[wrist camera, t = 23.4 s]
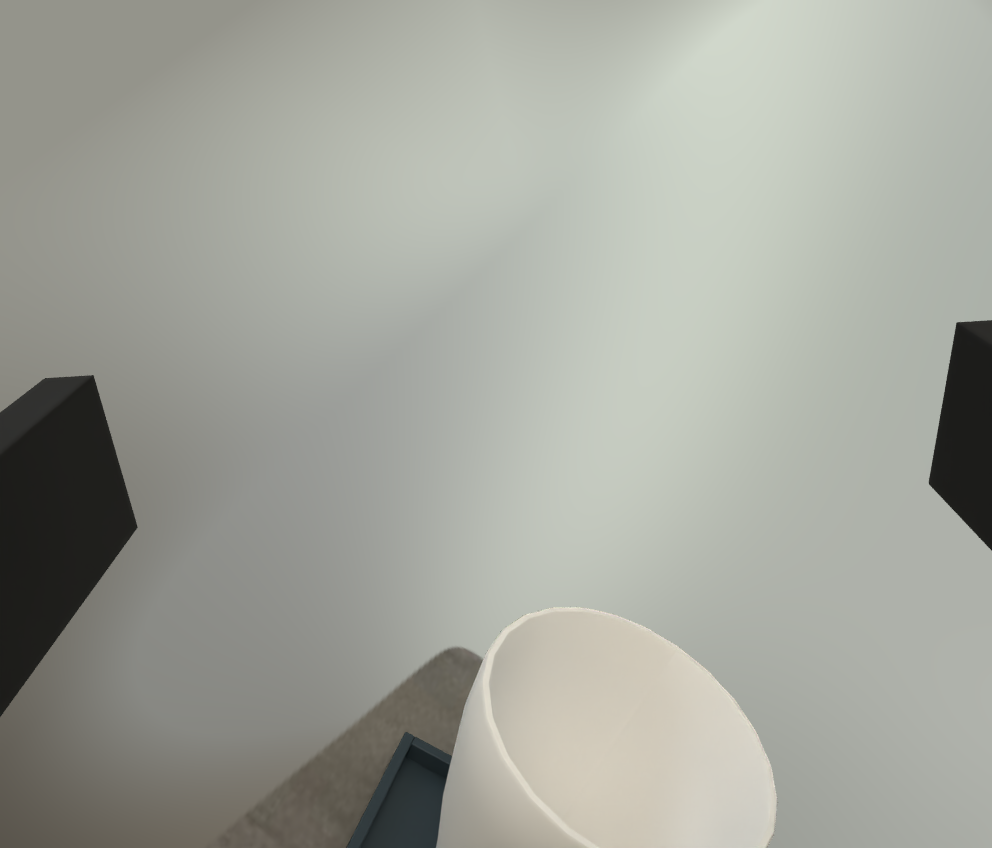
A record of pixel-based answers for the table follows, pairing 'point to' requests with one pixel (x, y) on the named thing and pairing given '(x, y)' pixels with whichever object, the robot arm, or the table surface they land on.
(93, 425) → the robot arm
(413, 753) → the frame
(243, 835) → the table surface
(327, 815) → the table surface
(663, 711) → the cup
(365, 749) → the table surface
